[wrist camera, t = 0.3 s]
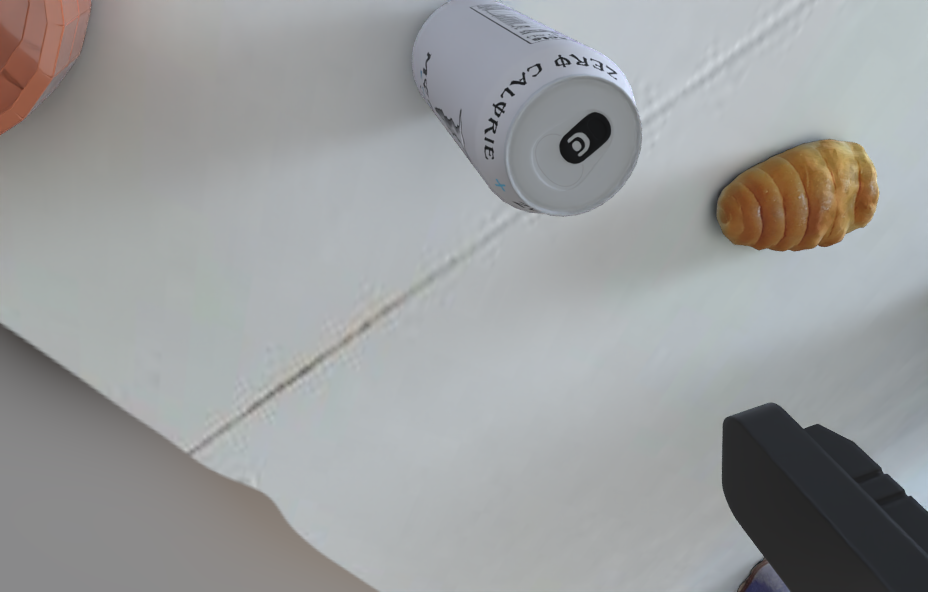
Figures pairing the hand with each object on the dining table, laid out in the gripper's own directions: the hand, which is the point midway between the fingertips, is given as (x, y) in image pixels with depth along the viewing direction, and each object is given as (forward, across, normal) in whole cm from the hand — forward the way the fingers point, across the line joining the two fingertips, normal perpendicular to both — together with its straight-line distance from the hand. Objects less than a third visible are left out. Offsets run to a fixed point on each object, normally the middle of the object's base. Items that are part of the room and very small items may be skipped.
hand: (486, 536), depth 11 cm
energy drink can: (+29, -7, +1) cm, 30 cm away
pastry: (+29, -26, +14) cm, 41 cm away
